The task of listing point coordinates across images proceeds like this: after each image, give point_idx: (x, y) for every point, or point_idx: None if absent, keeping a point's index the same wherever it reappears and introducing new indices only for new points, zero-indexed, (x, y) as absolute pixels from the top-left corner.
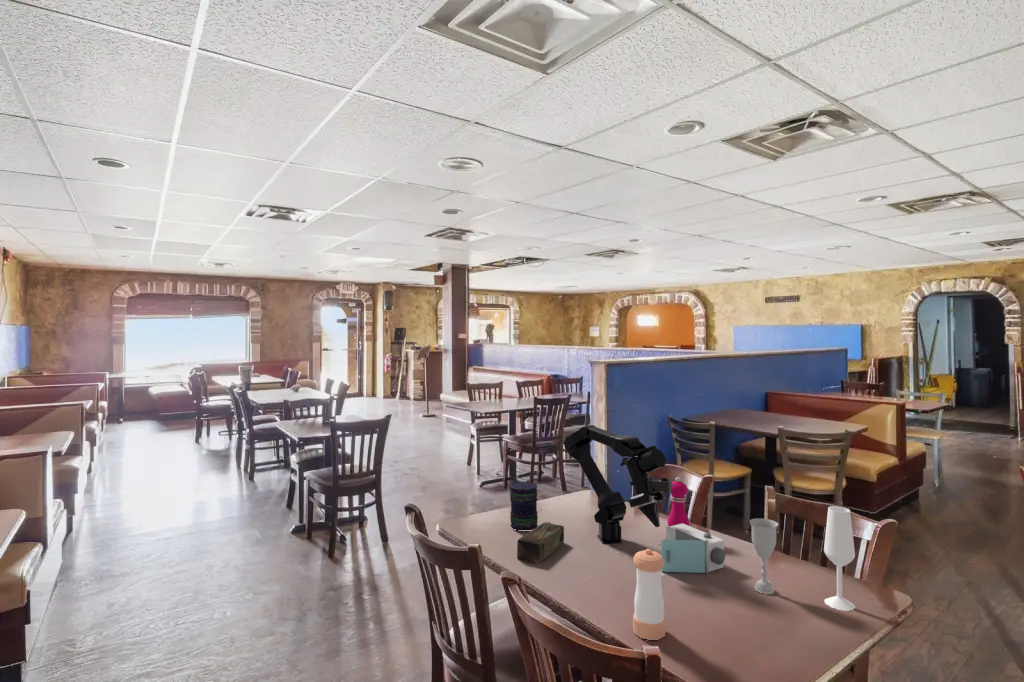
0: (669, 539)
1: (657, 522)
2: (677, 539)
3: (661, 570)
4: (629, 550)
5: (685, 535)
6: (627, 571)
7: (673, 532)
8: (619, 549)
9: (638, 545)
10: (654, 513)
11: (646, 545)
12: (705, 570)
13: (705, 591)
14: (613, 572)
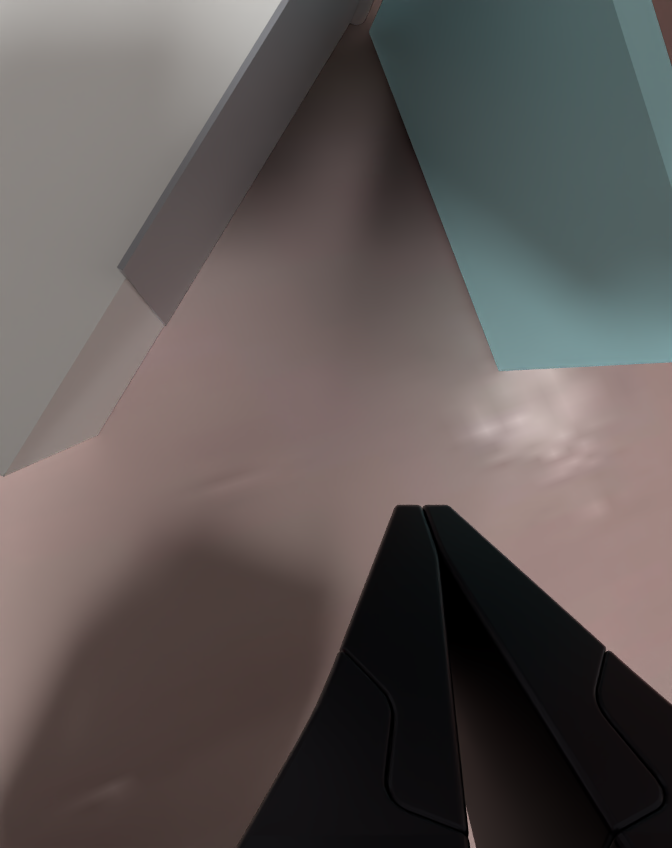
0: (89, 402)
1: (485, 553)
2: (162, 269)
3: (503, 369)
4: (221, 747)
5: (247, 87)
6: (606, 588)
7: (103, 327)
8: (245, 828)
9: (51, 733)
10: (658, 724)
11: (5, 668)
12: (352, 18)
13: (664, 8)
14: (658, 662)
